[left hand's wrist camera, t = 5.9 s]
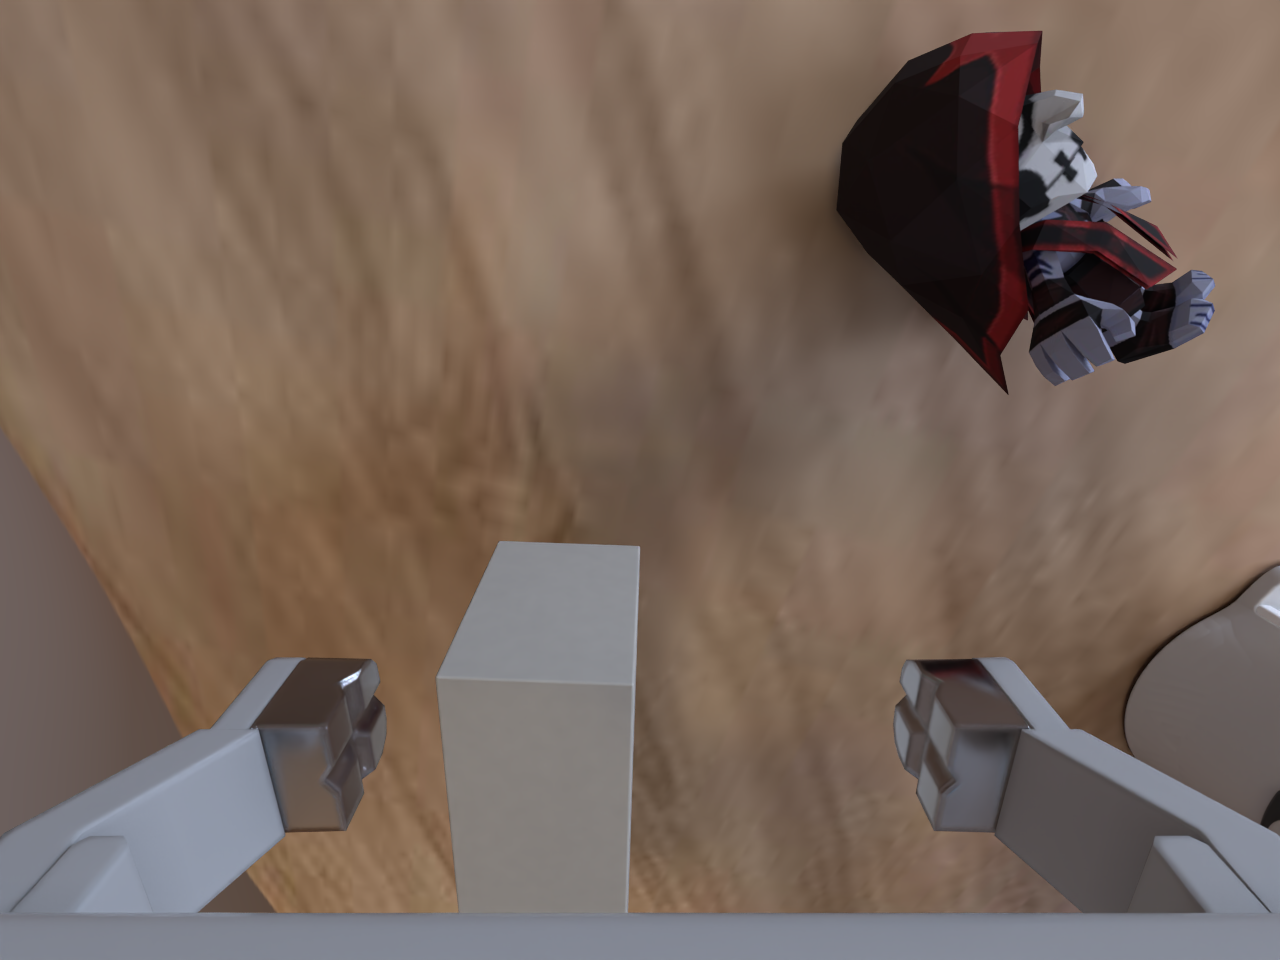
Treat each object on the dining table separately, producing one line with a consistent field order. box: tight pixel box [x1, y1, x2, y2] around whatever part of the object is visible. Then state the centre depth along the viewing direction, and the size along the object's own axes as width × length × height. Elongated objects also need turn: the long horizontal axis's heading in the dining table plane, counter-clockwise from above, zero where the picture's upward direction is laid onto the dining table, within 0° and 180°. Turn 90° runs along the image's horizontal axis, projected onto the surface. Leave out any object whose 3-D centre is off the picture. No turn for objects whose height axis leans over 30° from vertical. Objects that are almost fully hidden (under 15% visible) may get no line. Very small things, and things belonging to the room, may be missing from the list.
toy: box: [837, 31, 1215, 394], centre depth 28 cm, size 12×9×15 cm
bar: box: [435, 541, 640, 913], centre depth 26 cm, size 24×5×8 cm, turn 178°
